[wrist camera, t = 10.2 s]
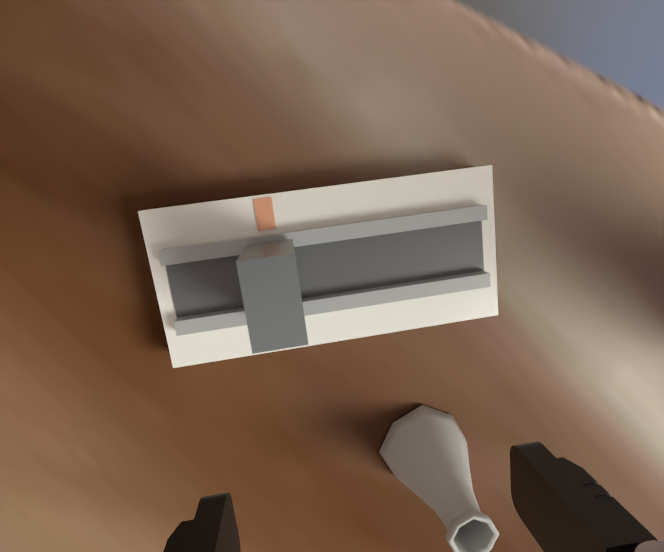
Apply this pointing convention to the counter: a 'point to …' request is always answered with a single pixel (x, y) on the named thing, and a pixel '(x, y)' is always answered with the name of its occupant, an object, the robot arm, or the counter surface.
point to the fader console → (329, 259)
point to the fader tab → (272, 296)
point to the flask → (439, 475)
